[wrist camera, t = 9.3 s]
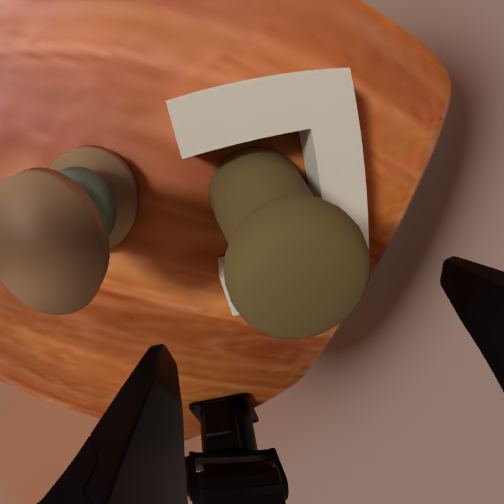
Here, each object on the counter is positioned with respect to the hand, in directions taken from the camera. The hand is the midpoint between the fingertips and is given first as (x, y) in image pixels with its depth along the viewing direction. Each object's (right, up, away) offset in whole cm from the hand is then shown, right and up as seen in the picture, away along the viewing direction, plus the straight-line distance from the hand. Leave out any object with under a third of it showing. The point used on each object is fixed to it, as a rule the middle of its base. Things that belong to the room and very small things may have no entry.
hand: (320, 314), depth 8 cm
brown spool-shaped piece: (-13, +5, +9) cm, 16 cm away
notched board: (0, +6, +10) cm, 12 cm away
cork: (-2, +6, +11) cm, 12 cm away
